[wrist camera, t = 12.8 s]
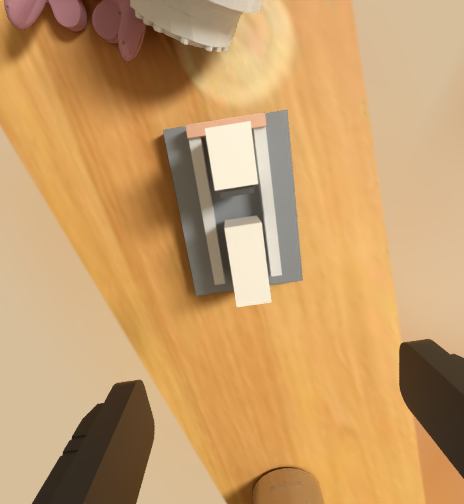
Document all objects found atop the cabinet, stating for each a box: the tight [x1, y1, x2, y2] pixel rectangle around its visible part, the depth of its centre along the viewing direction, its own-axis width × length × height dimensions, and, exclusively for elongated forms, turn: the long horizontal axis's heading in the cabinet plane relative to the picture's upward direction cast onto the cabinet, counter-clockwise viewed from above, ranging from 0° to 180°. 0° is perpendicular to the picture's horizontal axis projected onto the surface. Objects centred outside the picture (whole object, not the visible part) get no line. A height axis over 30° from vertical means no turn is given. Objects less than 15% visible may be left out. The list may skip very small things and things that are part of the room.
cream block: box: [224, 215, 271, 307], centre depth 26 cm, size 5×3×7 cm
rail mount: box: [163, 110, 303, 296], centre depth 24 cm, size 16×11×8 cm
